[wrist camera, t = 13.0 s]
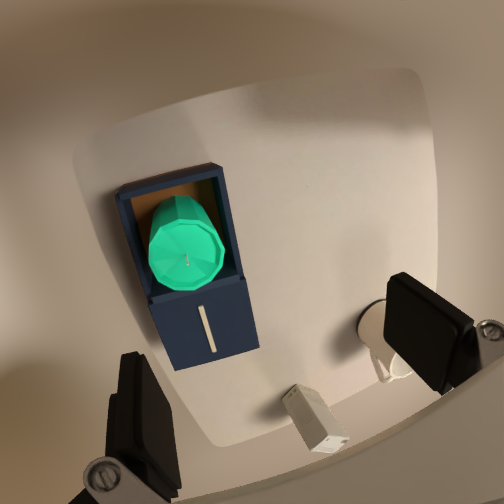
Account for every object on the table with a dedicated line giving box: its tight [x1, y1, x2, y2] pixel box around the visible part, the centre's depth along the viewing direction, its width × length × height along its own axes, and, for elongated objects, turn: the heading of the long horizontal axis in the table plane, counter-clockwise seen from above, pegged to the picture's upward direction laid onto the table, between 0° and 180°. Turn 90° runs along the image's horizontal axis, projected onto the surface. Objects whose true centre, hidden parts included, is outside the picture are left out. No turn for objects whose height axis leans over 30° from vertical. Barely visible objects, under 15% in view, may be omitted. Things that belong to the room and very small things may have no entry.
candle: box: [149, 195, 225, 290], centre depth 28 cm, size 6×6×12 cm
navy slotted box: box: [115, 162, 260, 371], centre depth 33 cm, size 20×10×8 cm, turn 10°
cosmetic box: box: [282, 385, 350, 453], centre depth 44 cm, size 6×4×12 cm
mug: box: [357, 300, 414, 383], centre depth 44 cm, size 11×9×10 cm
